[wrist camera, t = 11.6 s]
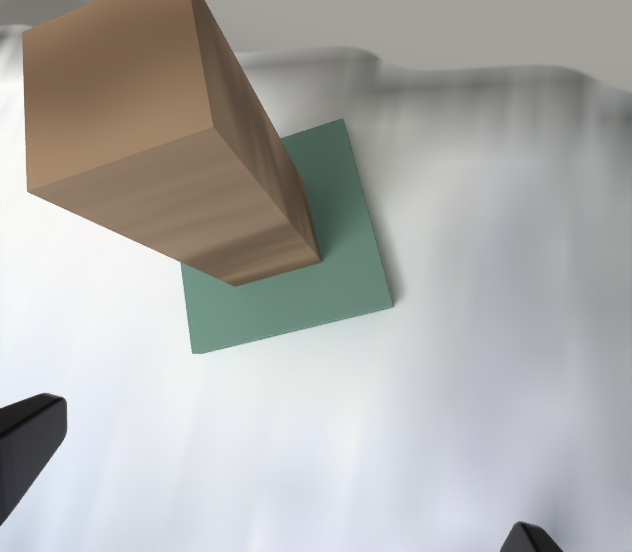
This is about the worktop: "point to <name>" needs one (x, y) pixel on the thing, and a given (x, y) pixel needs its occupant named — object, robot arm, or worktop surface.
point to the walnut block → (162, 139)
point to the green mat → (306, 283)
